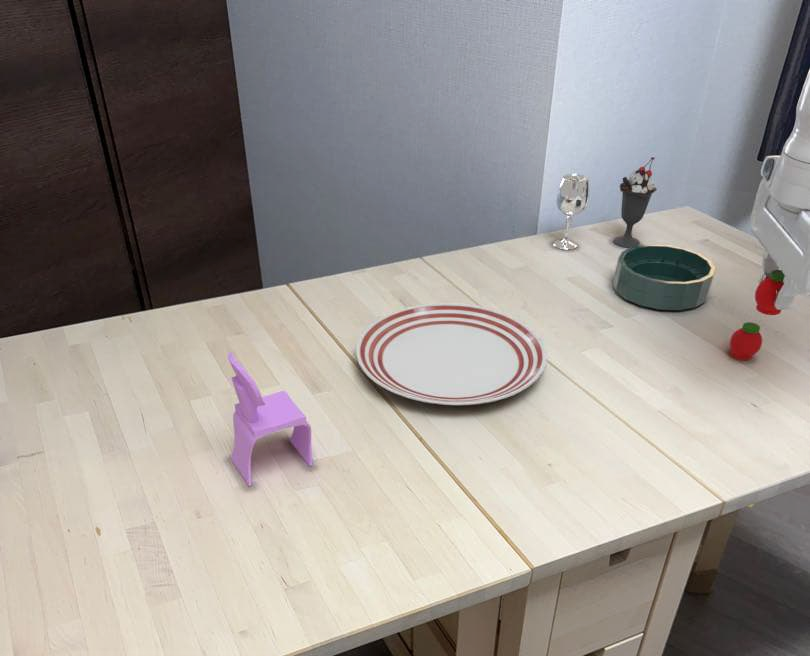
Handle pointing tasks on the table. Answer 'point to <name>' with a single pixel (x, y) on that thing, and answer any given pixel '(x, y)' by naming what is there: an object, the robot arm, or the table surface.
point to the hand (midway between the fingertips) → (773, 296)
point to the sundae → (634, 202)
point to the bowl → (663, 277)
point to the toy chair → (263, 420)
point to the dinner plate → (451, 354)
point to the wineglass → (571, 202)
